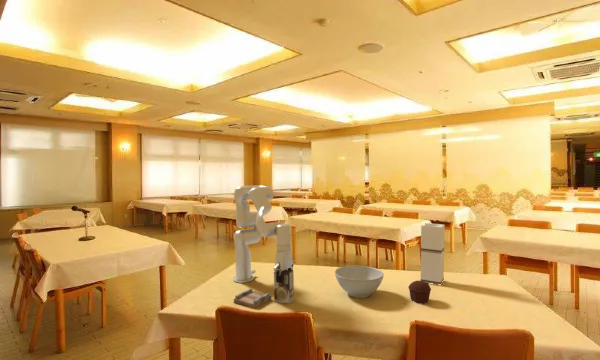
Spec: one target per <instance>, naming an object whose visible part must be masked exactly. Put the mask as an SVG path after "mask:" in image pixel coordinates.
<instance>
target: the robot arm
mask: <svg viewBox="0 0 600 360" xmlns="http://www.w3.org/2000/svg"><path fill="white" fill-rule="evenodd" d="M274 195H275V194H274V190H273V189H272V188H271V187H270V186H267V185H266V186H265V185H259V184H257V185H241V186H237V187H236V188H235V189H234V192H233V198H234V202H235V223H236V226H237V227H238V228H241V229H239V230H237V231H235V232H234V234H233V242H234V250H235V252H234V253H235V254H234V255H235V276H234V277H233V280H232V281H233V282H235V283H238V284H239V283H240V284H244V283H249V282H252V281H253V280H254V278H255V277H254V276H253V274H255V273H256V270H255V269H254V270H252V253H251V249H250V247H249V246H248V245H252V244H253V245H254V244H257V243H259V242H260V241H261V238H262V237H263V238H272V237H276V251H275V258H274V266H273V271H274V272H275V275H276V282H278V283H282V275H281V273H282V271H284V270H286V269H288V270H293V271H294V263H295V259H293V254H292V236H291V235H292V233H291V232H292V230H291V229H292V227H291V225H290V224H288V223H283V221H276V222H275V221H274V222H265V220H264V216H265V215H267V214H269V213H270V212H271V210H272V204H271V202H270V201H271V200H273V198H274ZM249 200H251V202H252V203H253V205H254V207H255V209H256V211H251V209H250V208H251V207H250V203H249ZM242 228H244V229H242ZM278 271H280V272H278ZM274 272H273V273H274Z"/></svg>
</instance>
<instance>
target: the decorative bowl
mask: <svg viewBox="0 0 600 360" xmlns="http://www.w3.org/2000/svg"><path fill="white" fill-rule="evenodd" d="M334 275H335V279H336V280H337V282H338V285H339V286H340V287H341V288H342V289H343V290H344V291H345V292H346V293H347V294H348V296H350V297H352V298H358V299H362V298H364V299H365V298H369V297H370V296H371V294H373V293H374V292H376V291H377V290H378V289H379V287H380V286H381V284H382V282H383V278H384V272H383V271H382V270H380V269H378V268H376V267H373V266H367V265H355V264H354V265H343V266H340V267H338V268H337V269H335V270H334Z"/></svg>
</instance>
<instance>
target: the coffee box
mask: <svg viewBox="0 0 600 360" xmlns="http://www.w3.org/2000/svg"><path fill="white" fill-rule="evenodd" d="M278 272H280V271H278ZM281 275H282V283H278V282H276V275H275V272H273V283H274V284H273V287H274V290H273V296H274V300H273V302H275V303H282V304H288V305H289V304H291V303H292V302H293V301H294V300H295V299H294V298H295V297H294V296H295V293H294V291H295V290H294V288H295V287H294V285H295V283H294V282H295V281H294V279H295V278H294V269H293V270H288V269H286V270H284V271H282V273H281Z"/></svg>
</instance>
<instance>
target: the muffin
mask: <svg viewBox="0 0 600 360" xmlns="http://www.w3.org/2000/svg"><path fill="white" fill-rule="evenodd" d="M408 290H409V295H410V296H409V297H410V300H411V302H413V301H414V303H415V302H416V304H420V303H423V304H427V303H429V302H428V301H430V295H431V290H432V288H431V286H430V284H427V283H426V282H424V281H421V280H415V281H412V282H411V283H410V284H409V285H408Z"/></svg>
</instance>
